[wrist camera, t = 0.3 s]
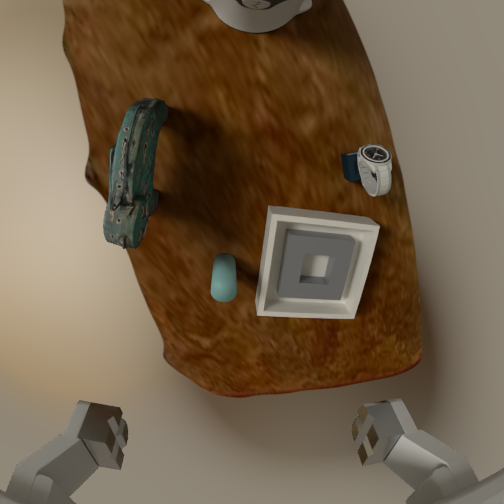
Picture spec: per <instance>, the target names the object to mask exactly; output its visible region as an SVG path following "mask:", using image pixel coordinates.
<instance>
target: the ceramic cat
mask: <svg viewBox="0 0 504 504" xmlns="http://www.w3.org/2000/svg"><path fill="white" fill-rule="evenodd" d="M167 116H168V106H167V105H166V104H165V102H164V101H162V100H160V99H148V98H144V99H141V100H139V101H137V102H135V103H134V104H133V105H132V106H131V107H130V108H129V110H128V111H127V113H126V115H125V118H124V120H123V123H122V126H121V129H120V131H119V134H118V138H117V142H116V144H115V145H114V146H112V147H111V148H110V164H109V199H108V204H107V207H106V211H105V216H104V224H103V228H104V235H105V239H106V240H107V242H110V243H113V244H116V245H119V246H122V247H123V249H125V248H134V249H136V248H137V247H138V246H139V244H140V243H141V241H142V240H143V238H144V237H145V234H146V231H147V227H148V217H149V216H152V215H153V213H154V211H155V209H156V208H157V207H158V199H159V192H158V191H157V190H156V189H153V175H154V167H155V157H156V148H157V141H158V137H159V133H160V129H161V126H162V125H163V124H164V122H165V121H166V120H167Z"/></svg>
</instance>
